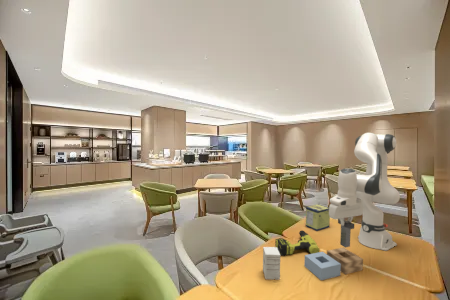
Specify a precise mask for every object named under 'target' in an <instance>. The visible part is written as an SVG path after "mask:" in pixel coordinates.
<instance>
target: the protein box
mask: <svg viewBox="0 0 450 300" xmlns="http://www.w3.org/2000/svg"><path fill="white" fill-rule="evenodd" d="M330 220H331V217H330V216H329V206H325V205H322V204H319V203H318V204H317V203H316V204H314V205H310V206H306V207H305V227H306V228H309V229H311V230H313V231H315V232H318V231H322V230H326V229H328V228H330V222H331V221H330Z"/></svg>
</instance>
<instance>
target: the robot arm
mask: <svg viewBox="0 0 450 300" xmlns="http://www.w3.org/2000/svg"><path fill="white" fill-rule="evenodd" d="M397 143H398V142H397V139H396V136H395V135H394V134H389V133H387V134H384V133H383V134H381V133H379V134H378V133H377V134H375V133H373V132H365V133H363V134H362V135H359V136H358V137H356V139H355V141H354V145H355V146H354V150H353V153H354V156H355V157H356V159H358V160H359V161H360V162H362V163H365V164H366V169H365V174H359V173H357V170H356V169H354V168H342V169H339V173H338V178H337V186H338V190H337V194H336V195H335V196H333V197H330V199H329V203H330V204H329V206H328V207H329V216H330V219H333V220H338V219H340V221H341V224H340V226H341V225H342V226H344V225H346V222H344V220H345V218H347V220H346V221H349V222H351V223H352V221H353V220H354V217H358V216H362V220H361V226H360V229H359V234H358V236H357V238H358V242H359V243H360V244H361V245H364V246H365V247H368V248H372V249H376V250H382V251H389V250H390V249H392V248H394V246H395V247H396V246H397V245H398V244H397V243H396V241H393V236H392V234H391V233H390V232H388V231H387V230H386V228H388V226H389V224H387V223H384V212H383V210H382V209H381V208H380V207H378V206H376V205H375V204H374V203H379V204H383V205H384V204H385V205H395V204H397V203H399V201H400V198H401V195H400V192H399V190H398V189H396V188H395V187H394V186H393V185H392V184H391V183H390V181H389V178H388V161H389V160H388V159H389V158H388V154H390V153H391V152H393V150H395V148H396V146H397Z"/></svg>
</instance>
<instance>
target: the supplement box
mask: <svg viewBox="0 0 450 300" xmlns="http://www.w3.org/2000/svg"><path fill="white" fill-rule="evenodd" d="M262 249H263V250H262V251H263V252H262V272H263V275H264V279H265V280H274V279H275V280H281V255H280V253H279V251H278V249H277V247H276V246H263V247H262Z"/></svg>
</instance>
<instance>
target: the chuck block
mask: <svg viewBox="0 0 450 300" xmlns="http://www.w3.org/2000/svg"><path fill="white" fill-rule="evenodd" d="M303 263H304V265H303V266H304V267H305V268H306V269H307V270H308V271H309V272H311V273H312V274H313V275H314V276H315V277H317V278H318V280H319V281H324V280H329V279H331V278H336V277H340V276H341V273H342V272H341V264H340V263H339V262H337V261H336V260H334V259H333V258H331V257H330V256H328V255H327V253H325V252H324V251H319V252H318V253H313V254H311V253H309V254H305V255H304V262H303Z"/></svg>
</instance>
